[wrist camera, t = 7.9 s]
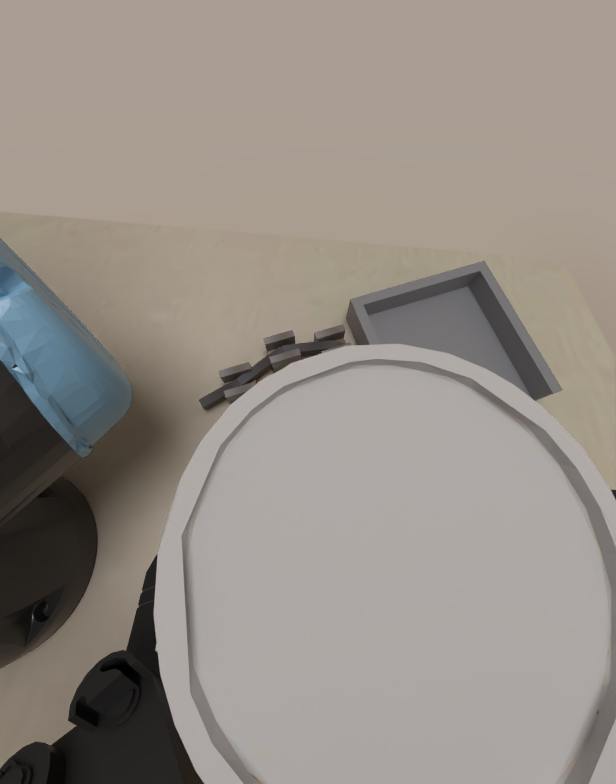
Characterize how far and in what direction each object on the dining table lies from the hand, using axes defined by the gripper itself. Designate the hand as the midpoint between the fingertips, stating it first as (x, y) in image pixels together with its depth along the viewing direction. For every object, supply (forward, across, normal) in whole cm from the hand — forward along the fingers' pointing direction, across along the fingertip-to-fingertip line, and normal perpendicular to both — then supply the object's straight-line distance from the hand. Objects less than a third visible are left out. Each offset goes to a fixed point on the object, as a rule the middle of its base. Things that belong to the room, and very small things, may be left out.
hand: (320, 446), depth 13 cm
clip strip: (+19, +1, -4) cm, 19 cm away
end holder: (+16, +16, -7) cm, 24 cm away
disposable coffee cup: (+1, 0, -6) cm, 6 cm away
